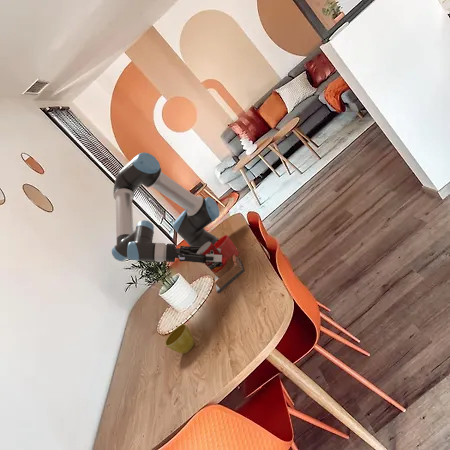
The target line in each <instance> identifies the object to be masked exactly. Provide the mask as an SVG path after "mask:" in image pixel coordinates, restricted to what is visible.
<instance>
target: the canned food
mask: <svg viewBox="0 0 450 450" xmlns="http://www.w3.org/2000/svg"><path fill="white" fill-rule="evenodd" d="M196 254H201V255H206V254H211V255H222V254H221V253H220V252H219V251H218V249H217V248H216V247H215V246H214V245H213V244H212V243H211V242H210V241H209V242H207V243H205V244H204V245H203V246H202V247H201V248H200V249H199V250H198V251H197V253H196ZM226 263H227V260H226V258H225V257H224V256H223V255H222V262H213V261H205V263H204V265H205V266H206V267H207V268H208V269H209V270H210V271H211V272H212V273H213V272H214V273H217V272H218V271H220V270H221V269H222V268H223V267H224V266H225V265H226ZM214 273H213V274H214Z"/></svg>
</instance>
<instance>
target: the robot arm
mask: <svg viewBox="0 0 450 450" xmlns="http://www.w3.org/2000/svg"><path fill="white" fill-rule="evenodd" d="M162 171H163V170H162V168H161V164H160V161H159V160H157V158H156V156H154V155H153V154H152V153H151V154H150V153H149V152H140V153H138V154H137V155H135V156H133V157H132V159H131V160H130V161H129V162H128V163H126V164H125V166H123V167H122V168H121V169H120V170H119V171H118V173H117V175H116V177H115V181H114V185H113V194H112V195H113V199H114V200H115V223H116V224H115V225H116V226H115V227H116V228H115V229H116V230H115V231H116V233H115V234H116V245H114V246H113V247H112V249H111V254H112V257H113V258H114V259H115V260H117V261H119V262H123V261H125V260H127V259H128V260H130V261H136V262H137V261H138V262H139V261H141V262H157V263H160V262H166V263H175V261H176V259H179V260H178V261H179V262H189V263H200V264H205V261H213V262H222V255H211V254H206V255H201V254H196V253H197V251H198V250H199V249H200V248H201V247H202V246H203V245H204V244H205V243H207V242H209V241H210V242H211V243H212V244H213V245H214V244H215V243H216V242H217V240H219V239H218V238H217V236H216V235H214V234H212V233H210V232H208V231H207V230H205V228H206V227H207V226H208V225H210V224H211V223H213V222H215V220H217V219H218V218H219V217H220V209H219V206H218V204H217V202H216V200H215V199H213V198H212V197H210V196H209V197H206V198H204V197H203V196H201V195H197V196H196V195H195V194H194V193H192V192H191V191H189V190H187V189H186V188H185V187H183V186H182V185H180V184H179V183H178V182H176V181H175V180H174V179H172V178H171V177H170V176H168V175H166V174H165V173H164V172H162ZM142 185H143V186H144V187H146V188H149V189H150V188H151V187H152V188H153V189H154V190H156V191H157V192H159V193H160V194H162V195H163V196H165V198H168V199H169V200H171V201H172V202H173V203H175V204H176V205H177V206H179V207H181V208H182V209H184V211H182V212H181V214H179V216H178V217H177V218H176V219H175V221H174V222H173V224H172V229H174V231H175V232H176V233H177V234H178V235H179V236H180V237H181V238H182V239H183V240H184V241H185V243H187V244H188V245H187V246H186V245H180V247H176V246H177V245H176V244H175V243H167V244H166V243H164V242H153V240H154V234H155V229H154V224H153V223H152V222H151V221H149V220H145V219H144V220H140V221H139V222H137V224H136V226H135V229H134V215H133V214H134V213H133V212H134V211H133V200H134V198H135V192H136V190H137V189H138V188H140V187H141V186H142ZM218 251H219V252H220V253H221V249H218Z"/></svg>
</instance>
